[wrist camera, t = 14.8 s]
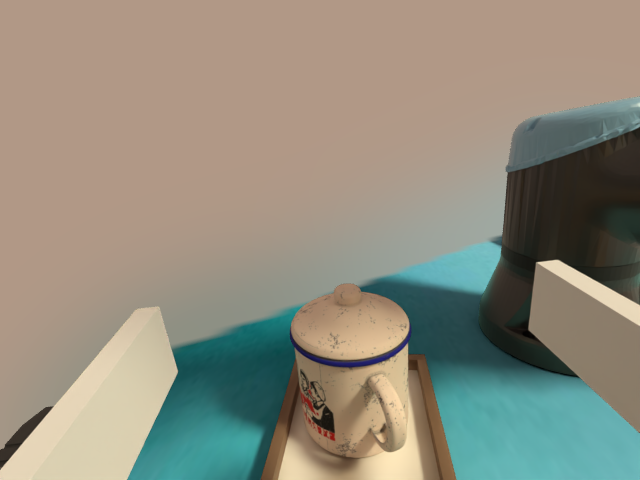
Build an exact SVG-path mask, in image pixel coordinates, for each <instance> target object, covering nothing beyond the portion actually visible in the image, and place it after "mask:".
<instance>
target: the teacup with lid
mask: <svg viewBox="0 0 640 480" xmlns="http://www.w3.org/2000/svg"><path fill="white" fill-rule="evenodd" d="M410 337H411V324H410V321H409V319H408V317H407V315H406V313H405V312H404V310H403V309H402V308H401V307H400V306H399V305H398V304H396V303H395V302H393V301H392V300H390V299H388V298H386V297H383V296H380V295H377V294H373V293H367V292H361V290H360V288H359V287H358V286H356V285H354V284H342V285H339V286H337V287H336V289H335V290H334V293H333V294H329V295H325V296H322V297H319V298H317V299H314V300H312V301H311V302H309V303H307V304H306V305H304V306H303V307H302V308H301V309H300V310H299V311H298V312H297V313H296V315H295V317H294V318H293V321H292V324H291V328H290V339H291V342H292V344H293V346H294V347H295V354H296V362H297V370H298V378H299V386H300V393H301V401H302V409H303V417H304V423H305V426H306V429H307V431H308V433H309V434H310V436H311V437H312V438H313V440H314V441H315V442H316V443H317V444H318V445H320V446H321V447H322V448H324V449H326V450H327V451H329V452H331V453H334V454H337V455H340V456H344V457H350V458H363V457H369V456H374V455H377V454H379V453H382V452H384V451H386V452H394V451H397V450H399V449H401V448H402V447H403V446H404V444H405V442H406V438H407V423H408V341H409V339H410Z"/></svg>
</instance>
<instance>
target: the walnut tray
mask: <svg viewBox="0 0 640 480" xmlns="http://www.w3.org/2000/svg"><path fill="white" fill-rule="evenodd" d="M261 480H456V476H455V472H454V468H453V464H452V460H451V457H450V453H449V449H448V445H447V441H446V437H445V433H444V429H443V425H442V421H441V417H440V413H439V409H438V405H437V401H436V397H435V394H434V390H433V386H432V382H431V378H430V374H429V370H428V366H427V362H426V358H425V354H408V423H407V438H406V442H405V444H404V446H403V447H402V448H401V449H399V450H397V451H394V452H386V451H384V452H382V453H379V454H377V455H374V456H369V457H363V458H350V457H344V456H340V455H337V454H334V453H331V452H329V451H327V450H326V449H324V448H322V447H321V446H320V445H318V444H317V443H316V442H315V441H314V440H313V438H312V437H311V436H310V434H309V433H308V431H307V429H306V426H305V423H304V417H303V409H302V401H301V393H300V386H299V378H298V370H297V362H296V359H295V363H294V366H293V370H292V373H291V376H290V380H289V383H288V387H287V390H286V394H285V397H284V401H283V404H282V408H281V411H280V414H279V418H278V421H277V425H276V428H275V432H274V435H273V439H272V442H271V445H270V449H269V452H268V456H267V459H266V463H265V466H264V470H263V473H262V477H261Z"/></svg>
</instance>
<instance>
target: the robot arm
mask: <svg viewBox="0 0 640 480" xmlns="http://www.w3.org/2000/svg"><path fill="white" fill-rule="evenodd" d="M506 172H508V176H507V189H506V201H505V214H504V225H503V235H502V248H501V257H500V260H499V263H498V265H497V267H496V269H495V271H494V273H493V275H492V277H491V279H490V281H489V283H488V285H487V287H486V289H485V291H484V293H483V296H482V298H481V301H480V307H479V325H480V327H481V329H482V331H483V333H484V334H485V335H486V336H487V338H488V339H489V340H490V341H492V342H493V343H494V344H495V345H496V346H498V347H499V348H501V349H502V350H504V351H505V352H507V353H509V354H510V355H512V356H514V357H516V358H518V359H520V360H523V361H525V362H527V363H530V364H532V365H535V366H538V367H541V368H544V369H548V370H551V371H555V372H559V373H564V374H569V375H576V376H579V377H580V378H581V379H582V380H583V381H584V382H585V383H586V384H587V385H588V386H589V387H591V388H592V389H593V390H594V391H595V392H596V393H597V394H598V395H599V396H600V397H601V398H602V399H603V400H604V401H606V402H607V403H608V404H609V405H610V406H611V407H612V408H613V409H614V410H615V411H616V412H617V413H618V414H620V415H621V416H622V417H623V418H624V419H625V420H626V421H627V422H628V423H629V424H630V425H631V426H632V427H634V428H635V429H636V430H637V431H638V432H639V433H640V96H639V97H634V98H628V99H622V100H617V101H611V102H606V103H600V104H595V105H590V106H585V107H580V108H575V109H569V110H564V111H559V112H554V113H549V114H544V115H540V116H535V117H531V118H529V119H527V120H525V121H523V122H522V123H521V124H520V125H519V126H518V127H517V128H516V129H515V131H514V133H513V137H512V142H511V149H510V156H509V163H508V165H507V166H506ZM177 373H178V370H177V367H176V363H175V360H174V356H173V353H172V349H171V346H170V343H169V339H168V336H167V332H166V329H165V326H164V322H163V319H162V315H161V312H160V309H159V307H150V308H142V309H136V310H135V311H134V313H133V314H132V315H131V316H130V317H129V319H128V320H127V321H126V322H125V323H124V324H123V326H122V327H121V328H120V329H119V330H118V331H117V333H116V334H115V335H114V336H113V337H112V339H111V340H110V341H109V342H108V343H107V344H106V346H105V347H104V348H103V349H102V350H101V352H100V353H99V354H98V355H97V356H96V357H95V359H94V360H93V361H92V362H91V363H90V365H89V366H88V367H87V368H86V369H85V370H84V372H83V373H82V374H81V375H80V376H79V378H78V379H77V380H76V381H75V382H74V384H73V385H72V386H71V387H70V388H69V389H68V391H67V392H66V393H65V394H64V395H63V396H62V398H61V399H60V400H59V401H58V402H57V403H56V405H55V406H53V407H46V408H44V409H43V410H42V411H40V412H39V413H38V414H36V415H35V416H34V417H33V418H31V419H30V420H29V421H27V422H26V423H25V424H23V425H22V426H21V427H20V429H19V430H18V431H17V432H16V433H15V434H14V435H13V436H12V438H11V439H10V440H9V441H8V442H7V443H6V444H5V448H4V449H1V450H0V480H127V478H128V476H129V474H130V472H131V470H132V468H133V466H134V463H135V461H136V459H137V457H138V455H139V453H140V451H141V449H142V447H143V445H144V442H145V440H146V438H147V436H148V434H149V432H150V430H151V428H152V426H153V423H154V421H155V419H156V417H157V415H158V413H159V411H160V409H161V407H162V405H163V402H164V400H165V398H166V396H167V394H168V392H169V390H170V388H171V386H172V384H173V381H174V379H175V377H176V375H177Z"/></svg>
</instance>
